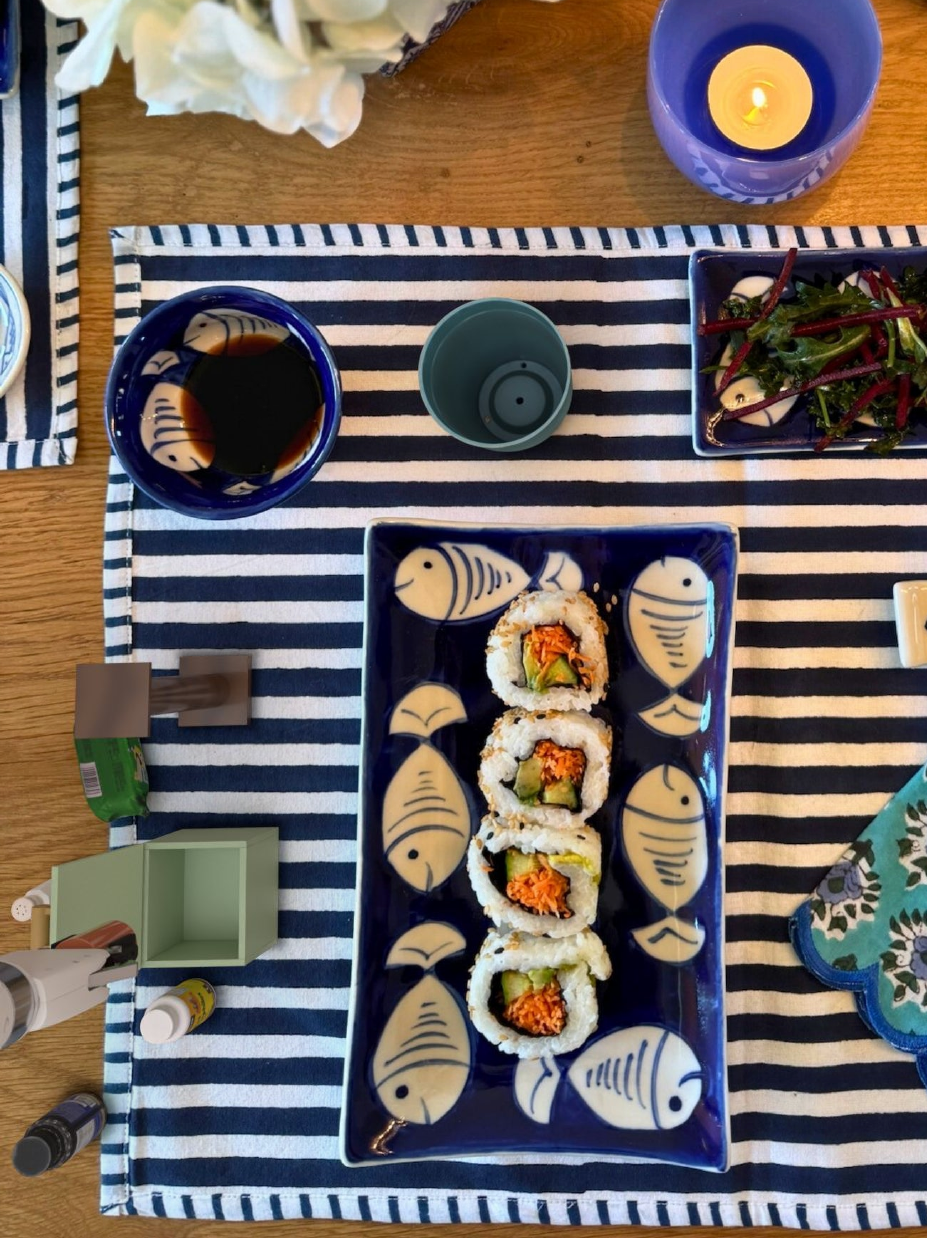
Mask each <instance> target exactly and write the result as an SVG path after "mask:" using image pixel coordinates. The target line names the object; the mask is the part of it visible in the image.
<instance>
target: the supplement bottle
mask: <svg viewBox="0 0 927 1238" xmlns="http://www.w3.org/2000/svg"><path fill="white" fill-rule="evenodd" d="M216 1006H217V994H216V991H215V989H214V987H213V985H212V984H211V983H210V982H208V981H207V980H205V979H203V978H197V977H196V978H195V977H193V978H189V979H187V980H185V981H183V982H181V983H180V984H178V985H176V986H175V987H173V988H171V989H170V990H168V991H167V992H165V993H163V994H162V995H160V996H158V997H157V998H155V999H154V1000H153V1001H152V1002H151V1003H149V1005H148V1006H147V1007H146V1009H145V1011H144V1015H143V1017H142V1018H141V1021H140V1025H139V1030H140V1034H141V1036H142V1038H143V1039H144V1040H145V1041H146V1042H148V1043H150V1044H153V1045H159V1044H164V1045H165V1044H167V1045H168V1044H172V1043H175V1042H177V1041H178V1040H180V1039H181V1038H183V1037H184V1036H186V1035H187V1034H188V1033H190V1032H191V1031H192V1030H194V1029H195V1028H197V1027H198V1026H199V1025H201V1024H202V1023H204V1022H205V1021H206V1020H207V1019H208V1018H210V1017H211V1016H212V1014H213V1013H214V1011H215V1008H216Z"/></svg>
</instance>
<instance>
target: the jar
mask: <svg viewBox="0 0 927 1238" xmlns="http://www.w3.org/2000/svg"><path fill="white" fill-rule="evenodd" d="M130 933H134V931H133V929H132V928H131V927H130V926H129V925H127V924H126V923H124V922H122V921H118V920H110V921H107V922H104V923H102V924H100V925H97V926H95V927H93V928H91V929H89V930H86V931H84V932H82V933H80V934H78V935H76V936H73V937H71V938H69V939H67V940H65V941H63V942H61V943H60V944H59V945H57V946H56V948H55V949H106V948H108V945H109V943H111V942H113V941H115V940H117V939H119V938H121V937H123V936H125V935H127V934H130ZM136 944H137V938H136ZM102 968H106V962H105V964H104V965H103V966H102Z"/></svg>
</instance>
